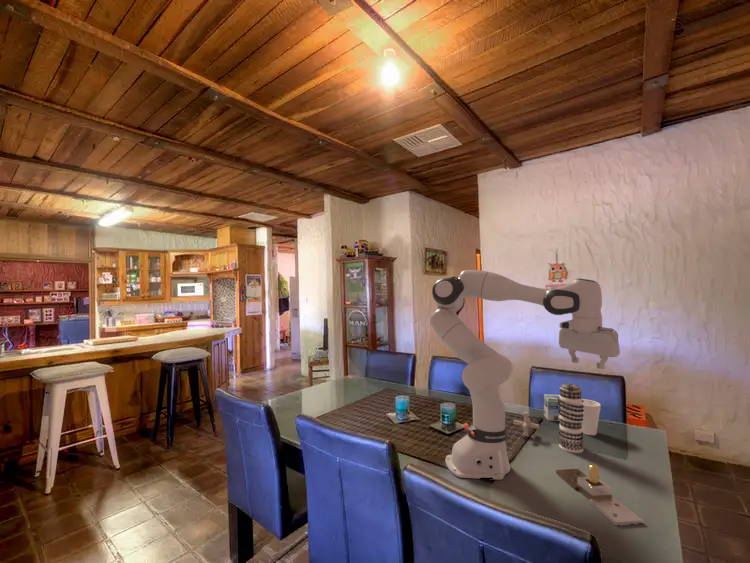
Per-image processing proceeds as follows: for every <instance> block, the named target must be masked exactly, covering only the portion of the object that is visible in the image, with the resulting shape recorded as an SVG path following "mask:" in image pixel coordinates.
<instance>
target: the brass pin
mask: <svg viewBox="0 0 750 563" xmlns="http://www.w3.org/2000/svg"><path fill="white" fill-rule="evenodd" d="M588 466H589V468H588V469H589V470H588V471H589V472H588V474H589V475H588V476H589V483H590V484H591V485H592V486H599V466H598V465H596V464H595V463H589V465H588Z"/></svg>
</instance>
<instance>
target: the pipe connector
mask: <svg viewBox="0 0 750 563" xmlns="http://www.w3.org/2000/svg"><path fill="white" fill-rule="evenodd" d="M513 425H517V426H520V427H521V426H522V427H521V428H522V430H523V436H524V435H525V436H527V437H526V438H528V437H529V431H530V430H529V428H530V429H531V428H532V429H536V430H539V429H540V424H537V423H534V422H533V423H532V422H531V419H530V417H529V412H528V411H524V412H523V421H522V420H517V419H513ZM525 436H524V437H525Z"/></svg>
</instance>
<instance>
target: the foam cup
mask: <svg viewBox="0 0 750 563" xmlns="http://www.w3.org/2000/svg"><path fill="white" fill-rule="evenodd" d="M582 400H583V402H581V404H582V405H583V406H584V407H583V408H582V409H583V410H584V411H583V412H581V414H583V415H584V416H583V417H581V418H583V421H582V422H581V423H582V426H581V427H582V432H583V435H588V436H596V435H597V433H598V425H599V418H600V412H601V405H602V404H601V403H600V402H598V401H596V400H591V399H586V398H582Z"/></svg>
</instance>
